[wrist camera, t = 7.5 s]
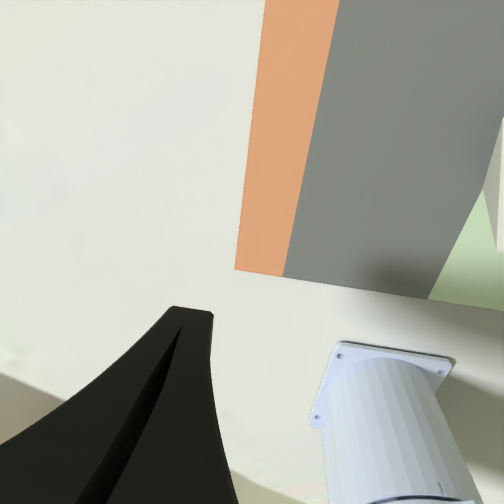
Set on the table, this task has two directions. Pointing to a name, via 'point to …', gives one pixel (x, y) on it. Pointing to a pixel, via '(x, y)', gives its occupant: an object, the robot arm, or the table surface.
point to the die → (496, 191)
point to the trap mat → (376, 147)
